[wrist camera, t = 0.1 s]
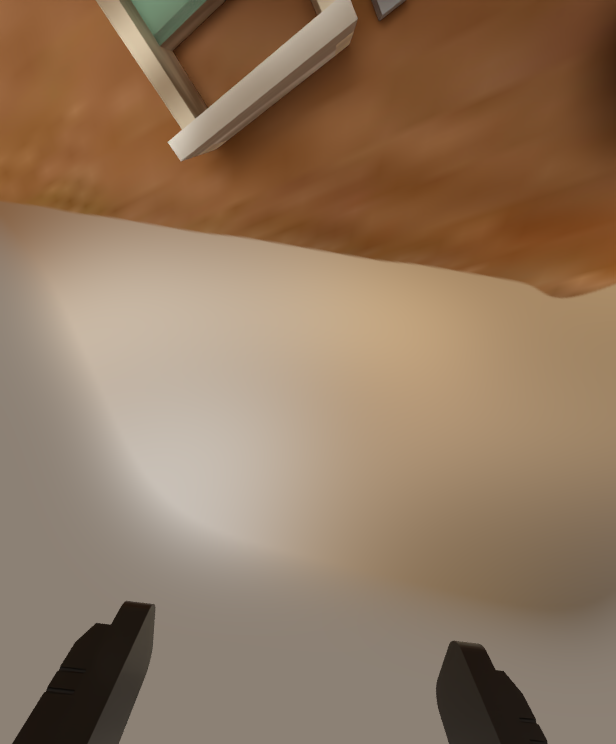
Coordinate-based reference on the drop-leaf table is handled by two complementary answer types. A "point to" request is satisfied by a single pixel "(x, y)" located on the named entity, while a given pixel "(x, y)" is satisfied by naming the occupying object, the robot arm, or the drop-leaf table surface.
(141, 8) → the pitch
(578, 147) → the drop-leaf table surface
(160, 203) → the drop-leaf table surface
